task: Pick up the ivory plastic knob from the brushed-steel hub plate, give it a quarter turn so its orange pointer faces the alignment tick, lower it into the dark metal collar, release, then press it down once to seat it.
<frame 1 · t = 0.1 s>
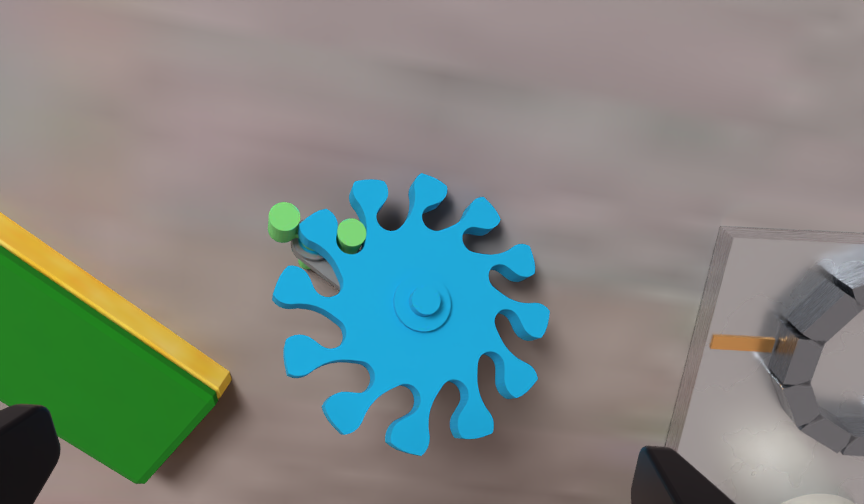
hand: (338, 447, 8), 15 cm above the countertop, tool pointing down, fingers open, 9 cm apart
hub plate: (831, 421, 25), on the countertop
gear: (414, 254, 23), on the countertop
dish sponge: (80, 329, 26), on the countertop
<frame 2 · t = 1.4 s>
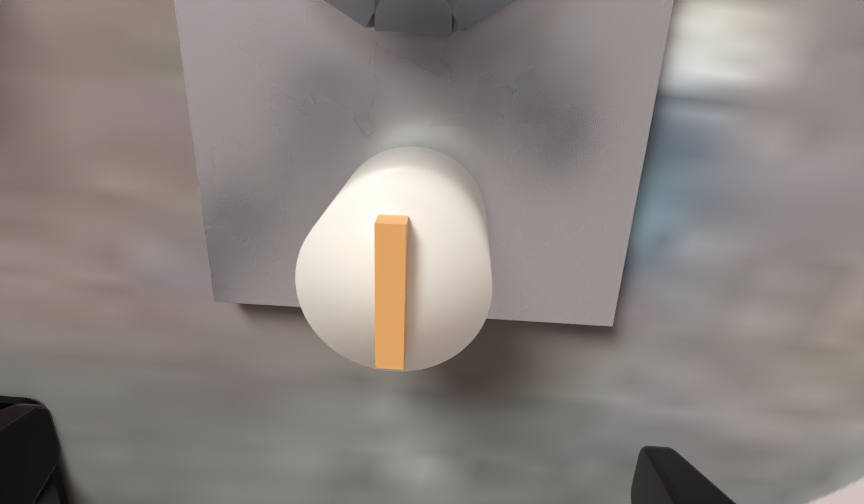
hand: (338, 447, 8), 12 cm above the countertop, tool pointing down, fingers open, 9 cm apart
hub plate: (420, 37, 17), on the countertop
knob: (412, 219, 18), point 1 cm above the countertop, touching hub plate
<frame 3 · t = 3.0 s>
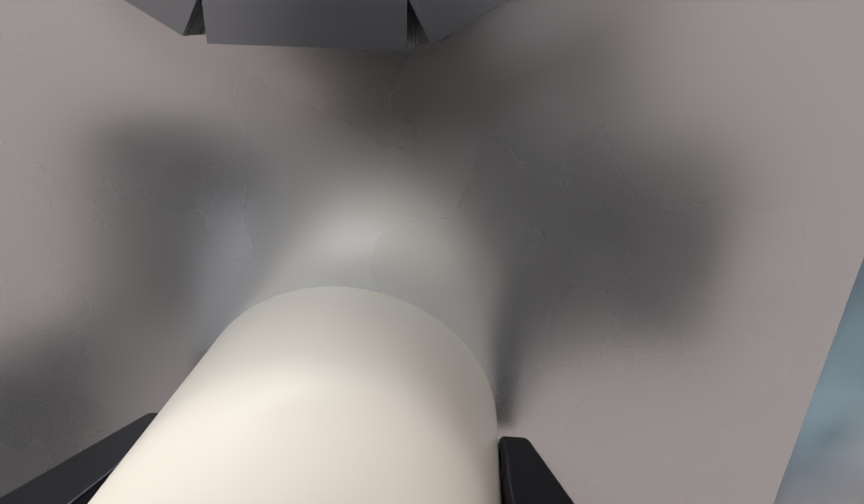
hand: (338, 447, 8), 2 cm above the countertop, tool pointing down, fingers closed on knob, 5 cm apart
hub plate: (352, 53, 8), on the countertop
knob: (346, 419, 9), point 1 cm above the countertop, touching gripper, hub plate
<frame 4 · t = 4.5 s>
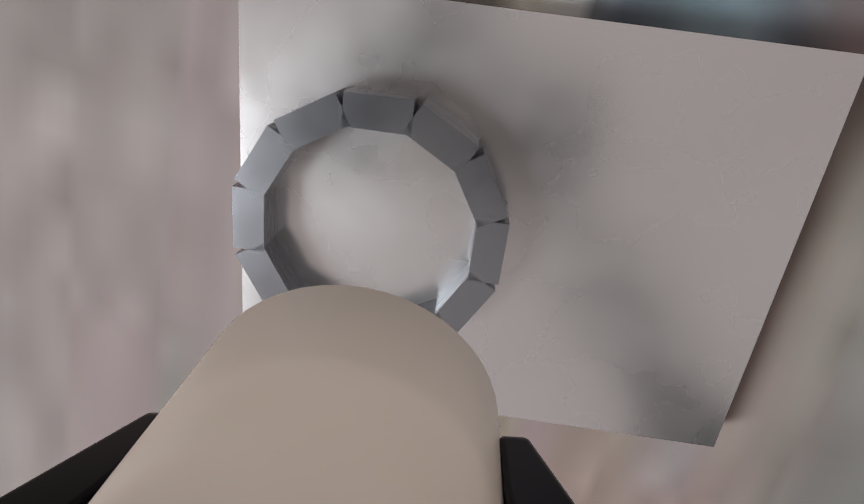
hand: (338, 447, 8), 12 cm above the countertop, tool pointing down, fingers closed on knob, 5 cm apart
hub plate: (506, 229, 19), on the countertop
knob: (348, 418, 9), point 11 cm above the countertop, touching gripper
when the fingers open (3 cm above the countertop, at t = 6.5 s): knob drops 1 cm, resting on hub plate.
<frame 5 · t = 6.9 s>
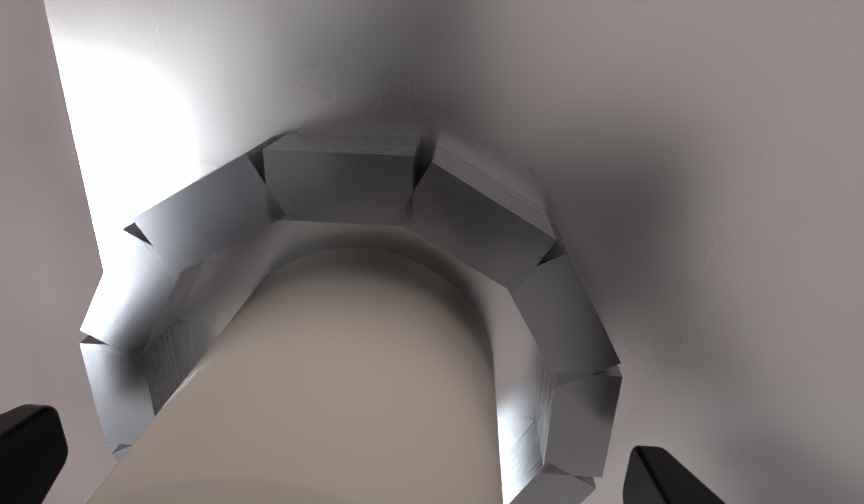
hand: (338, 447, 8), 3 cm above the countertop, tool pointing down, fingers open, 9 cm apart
hub plate: (593, 348, 11), on the countertop
knob: (362, 368, 10), point 1 cm above the countertop, touching hub plate
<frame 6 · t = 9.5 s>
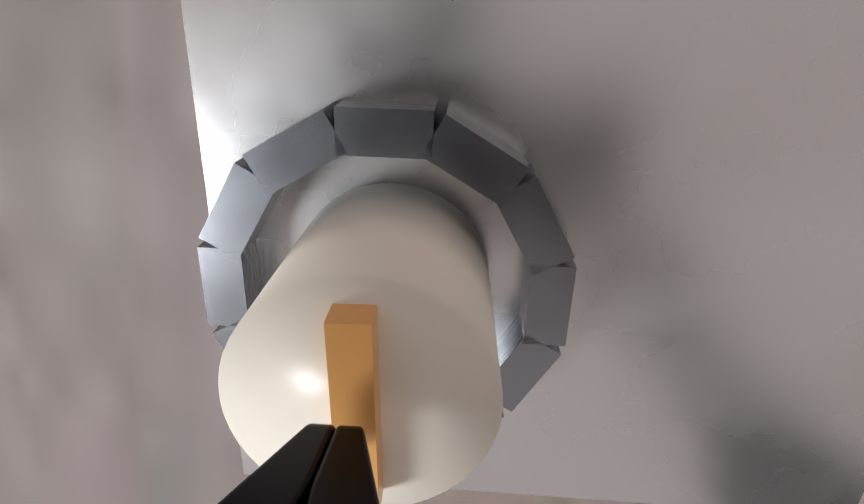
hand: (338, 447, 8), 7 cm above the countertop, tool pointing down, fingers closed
hub plate: (563, 265, 15), on the countertop
knob: (392, 275, 14), point 1 cm above the countertop, touching hub plate
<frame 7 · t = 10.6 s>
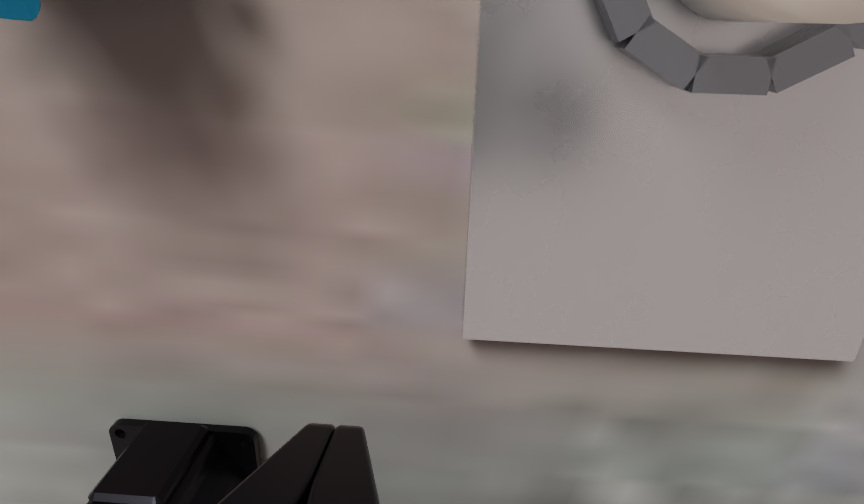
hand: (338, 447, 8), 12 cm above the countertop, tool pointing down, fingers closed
hub plate: (695, 90, 18), on the countertop
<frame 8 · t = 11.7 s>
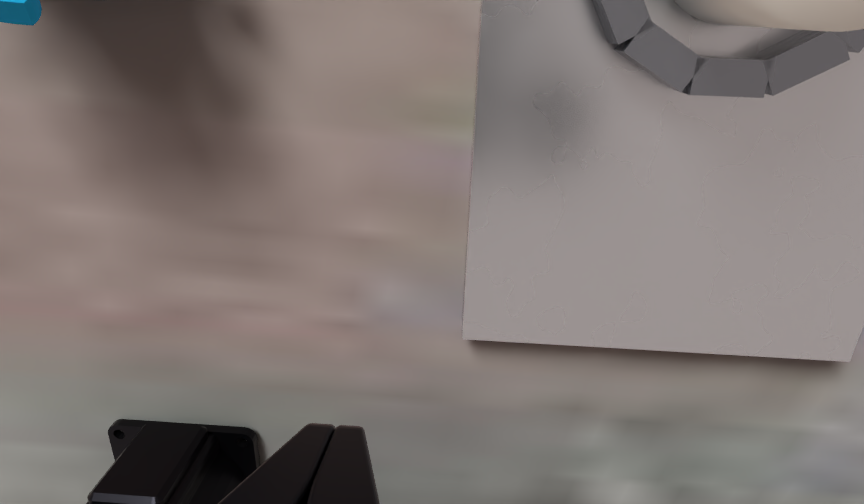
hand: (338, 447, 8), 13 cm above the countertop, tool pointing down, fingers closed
hub plate: (693, 93, 18), on the countertop
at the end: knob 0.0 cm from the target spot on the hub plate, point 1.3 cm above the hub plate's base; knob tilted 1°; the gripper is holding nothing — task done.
